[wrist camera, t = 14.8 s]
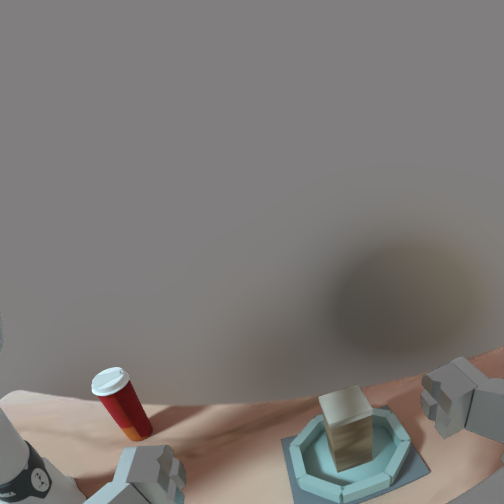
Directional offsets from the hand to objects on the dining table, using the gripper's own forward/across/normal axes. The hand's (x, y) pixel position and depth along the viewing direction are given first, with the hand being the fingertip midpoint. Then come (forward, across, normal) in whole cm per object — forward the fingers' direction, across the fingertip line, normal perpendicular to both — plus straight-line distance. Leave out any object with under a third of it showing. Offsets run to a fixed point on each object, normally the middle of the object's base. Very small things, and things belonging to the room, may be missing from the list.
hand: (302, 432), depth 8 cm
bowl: (+20, -6, +32) cm, 38 cm away
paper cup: (+36, +30, +32) cm, 57 cm away
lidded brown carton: (+20, -6, +30) cm, 37 cm away
